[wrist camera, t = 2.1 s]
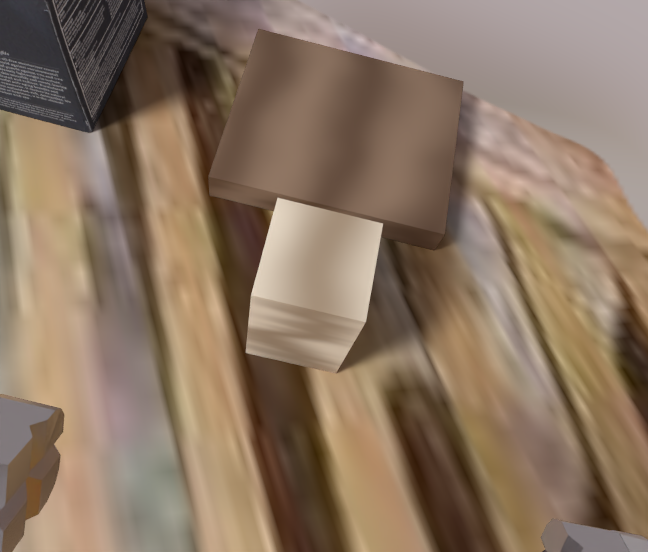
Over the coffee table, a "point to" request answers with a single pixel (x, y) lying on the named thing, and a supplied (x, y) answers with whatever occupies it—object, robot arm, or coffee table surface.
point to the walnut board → (341, 137)
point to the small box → (64, 56)
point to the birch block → (312, 286)
